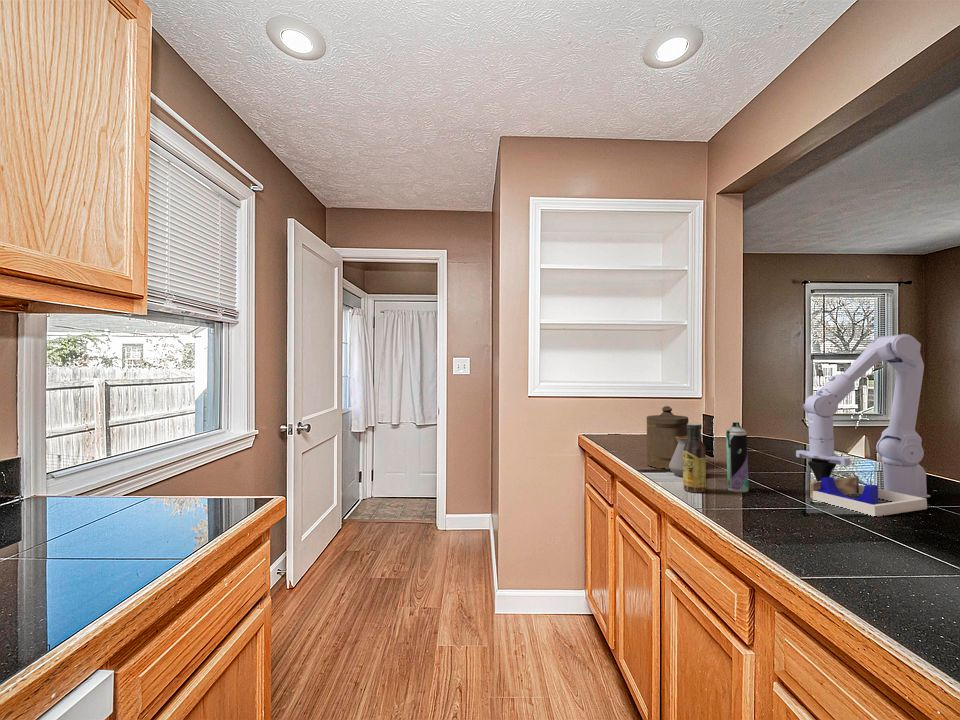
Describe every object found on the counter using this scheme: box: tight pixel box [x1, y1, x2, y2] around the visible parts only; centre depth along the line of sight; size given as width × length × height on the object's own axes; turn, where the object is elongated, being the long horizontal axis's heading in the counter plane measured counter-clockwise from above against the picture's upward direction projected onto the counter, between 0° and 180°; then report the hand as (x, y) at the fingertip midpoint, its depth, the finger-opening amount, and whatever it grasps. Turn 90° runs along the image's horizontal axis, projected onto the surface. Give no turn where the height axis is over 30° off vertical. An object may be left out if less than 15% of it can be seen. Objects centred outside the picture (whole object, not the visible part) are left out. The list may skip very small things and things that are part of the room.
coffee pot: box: [669, 436, 687, 478], centre depth 166 cm, size 21×12×15 cm, turn 168°
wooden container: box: [646, 405, 689, 470], centre depth 187 cm, size 15×15×22 cm
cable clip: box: [818, 476, 879, 505], centre depth 132 cm, size 12×4×6 cm, turn 25°
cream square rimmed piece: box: [812, 475, 928, 517], centre depth 132 cm, size 18×18×5 cm
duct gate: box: [809, 476, 857, 500], centre depth 140 cm, size 16×1×4 cm, turn 108°
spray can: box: [725, 421, 750, 493], centre depth 149 cm, size 6×6×20 cm
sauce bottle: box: [682, 422, 707, 493], centre depth 149 cm, size 7×6×20 cm
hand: (822, 487), depth 140 cm, fingers closed
